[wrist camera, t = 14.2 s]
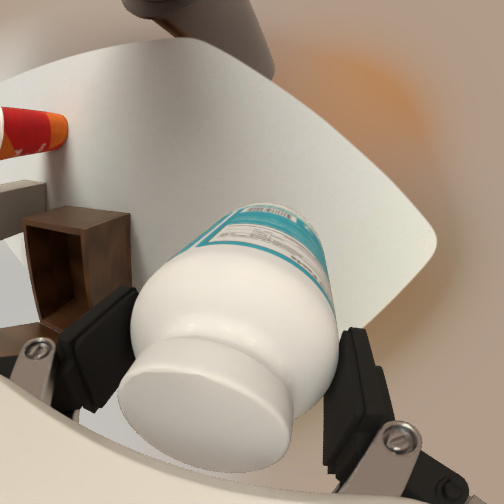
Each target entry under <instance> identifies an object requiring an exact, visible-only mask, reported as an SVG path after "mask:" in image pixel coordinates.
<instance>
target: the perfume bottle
mask: <svg viewBox="0 0 504 504" xmlns="http://www.w3.org/2000/svg"><path fill="white" fill-rule="evenodd" d="M45 211H46V183H43V182H37V181H30V180H21V181H16V182H11V183H6V184H1V185H0V240H3V239H5V238H8V237H11V236H13V235H16V234H19V233H21V232H23V220H22V218H25V217H28V216H32V215H35V214H38V213H42V212H45Z"/></svg>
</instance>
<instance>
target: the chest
mask: <svg viewBox="0 0 504 504" xmlns="http://www.w3.org/2000/svg"><path fill="white" fill-rule="evenodd" d="M22 220H23V232H24V241H25V249H26V256H27V263H28V269H29V274H30V280H31V284H32V290H33V294H34V299H35V303H36V308H37V312H38V315H39V319H40V323H42V324H44V325H45V326H47V327H49V328H51V329H53V330H55V331H57V332H59V333H61V332H62V331H64V330H65V329H66V328H67V327H68V326H70V325H71V324H72V323H73V322H75V321H76V320H77V319H78V318H79V317H81V316H82V315H83V314H84V313H86V312H87V311H88V310H89V309H91V308H92V307H93V306H94V305H96V304H97V303H98V302H100V301H101V300H102V299H103V298H105V297H106V296H107V295H108V294H110V293H111V292H112V291H114V290H115V289H116V288H117V287H119V286H120V285H126V286H130V287H132V276H131V255H130V213H122V212H114V211H106V210H98V209H89V208H81V207H72V206H63V207H59V208H56V209H52V210H48V211H45V212H42V213H38V214H35V215H32V216H28V217H25V218H22Z"/></svg>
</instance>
